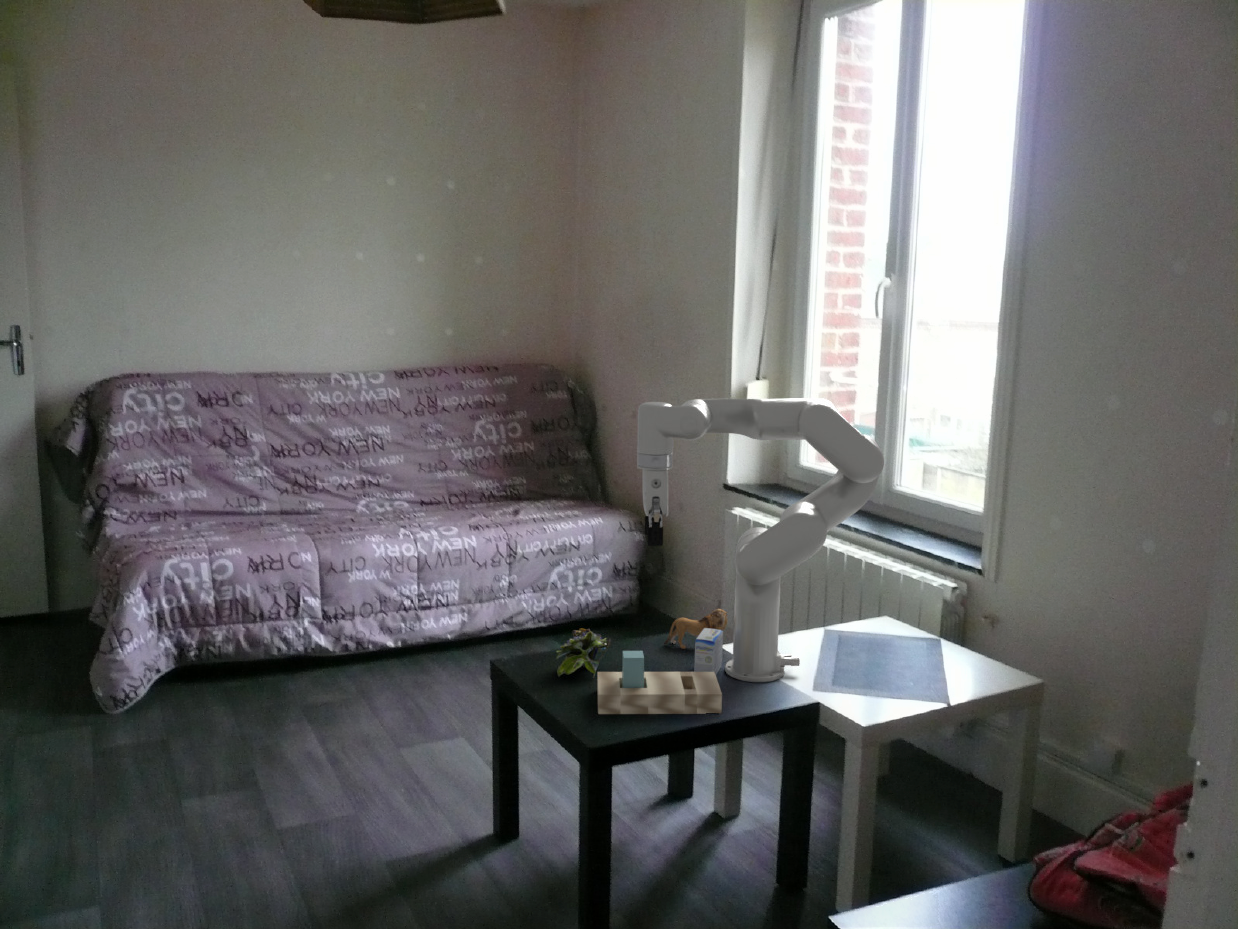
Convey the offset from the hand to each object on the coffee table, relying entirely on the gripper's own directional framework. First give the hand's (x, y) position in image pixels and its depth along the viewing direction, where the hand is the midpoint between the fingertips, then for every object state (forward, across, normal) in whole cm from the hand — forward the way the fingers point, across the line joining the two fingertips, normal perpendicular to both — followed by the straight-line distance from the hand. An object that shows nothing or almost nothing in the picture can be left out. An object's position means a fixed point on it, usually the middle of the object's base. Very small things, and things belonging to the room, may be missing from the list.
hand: (653, 539), depth 229 cm
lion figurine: (+29, +13, -11) cm, 33 cm away
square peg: (+28, -20, +5) cm, 35 cm away
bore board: (+28, -20, 0) cm, 35 cm away
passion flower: (+29, -4, +14) cm, 32 cm away
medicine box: (+29, -4, -12) cm, 31 cm away
